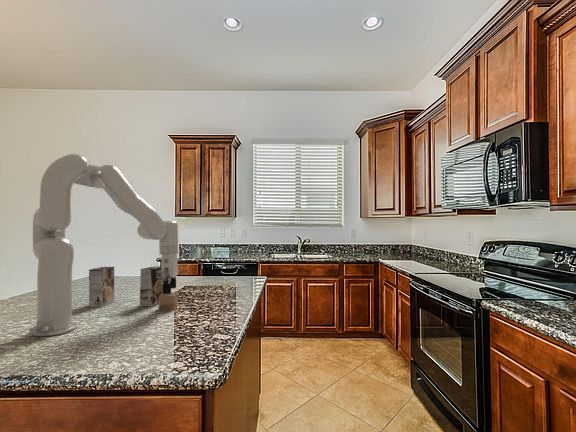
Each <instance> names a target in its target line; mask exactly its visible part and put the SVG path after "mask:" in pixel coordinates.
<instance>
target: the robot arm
mask: <svg viewBox="0 0 576 432" xmlns="http://www.w3.org/2000/svg"><path fill="white" fill-rule="evenodd" d="M74 184H75V185H80V186H85V187H89V188H93V189H101V190H102V189H103V190H104V191H105V193H106V194H107V196H108V197H109V198H110V199H111V201H112V202H113V203H114V204H115V205H116V207H117V208H118V209H120V211H122V212H123V213H126V214H128V215H130V216H132V217H133V218H134V219H135V220H136V221H138V223H140V224H139V225H138V226H137V229H136V231H137V234H138V236H139V237H141V238H142V239H144V240H154V241H157V240H158V241H159V242H158V243H159V245H158V248H159V255H161V265H160V267H161V273H162V278H163V279H162V280H163V282H162V287H163V294H168V293H172V289H176V288H177V276H178V275H179V265H178V262H179V261H178V254H179V224H178V222H177V221H175V220H163V218H162V217H161V216H160V215H159V214H158V212H157V211H156V210H155V209H154V208H153V207H152V206H151V205H150V204H149V203H147V202H146V201H145V199H143V198H142V197H141V196H139V194H138V193H137V192H136V191H135V189H134V187H132V185H131V183H130V182H129V181H128V179H126V177H125V176H124V175H123V173H122V172H121V171H120V169H119V168H118V167H117V166H115V165H112V164H103V165H101V166H98V165H92V164H89V162H88V160H87V159H86V157H84V156H82V155H81V154H76V153H73V154H72V153H70V154H67V155H64V156H61V157H59V158H58V159H56V160H54V161H52V162H51V164H49V166H48V167H47V168H46V170H45V171H44V173H43V175H42V177H41V181H40V188H39V189H40V193H39V208H38V209H37V210H36V211H35V213H33V216H32V217H33V219H32V251H33V255H34V256H35V257H36V258H37V260H38V265H37V276H36V277H37V278H36V281H37V284H36V286H37V288H36V289H37V292H36V293H37V294H36V295H37V296H36V325H35V326H33V327H31V328H30V329H29V331H28V332H29V333H30V334H31V336H35V337H50V336H58V335H62V334H65V333H69V332H72V331H74V330H75V329H76V328H77V327H78V325H77V322H75V321H72V310H73V309H72V308H73V307H72V305H73V302H72V301H73V300H72V299H73V286H72V285H73V278H72V277H73V263H74V256H75V255H74V254H75V252H74V246H73V244H72V242H71V241H70V240H69V239H68V238H66V229H67V228H68V227H69V226H70V224H71V221H72V209H71V196H72V187H73V185H74Z"/></svg>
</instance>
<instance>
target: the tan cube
mask: <svg viewBox="0 0 576 432" xmlns="http://www.w3.org/2000/svg"><path fill="white" fill-rule="evenodd" d="M176 308H178V292H171V293H168V294H163V293H162V294H161V295H160V296H159V304H158V311H159V312H160V311H162V312H163V311H175V310H176Z"/></svg>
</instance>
